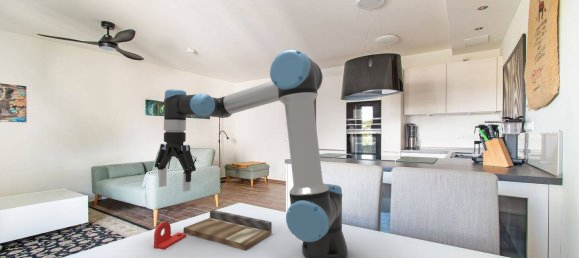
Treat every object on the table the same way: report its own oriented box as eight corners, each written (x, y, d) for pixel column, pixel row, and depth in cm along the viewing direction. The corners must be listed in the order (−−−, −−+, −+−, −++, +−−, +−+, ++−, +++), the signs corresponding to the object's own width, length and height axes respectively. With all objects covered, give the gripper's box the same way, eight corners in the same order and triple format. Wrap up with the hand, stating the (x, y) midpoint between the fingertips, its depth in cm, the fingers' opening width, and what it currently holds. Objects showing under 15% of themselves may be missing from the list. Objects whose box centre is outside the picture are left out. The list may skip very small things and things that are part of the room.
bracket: (164, 250, 90) (164, 227, 90) (153, 248, 91) (154, 225, 91) (187, 236, 101) (187, 216, 101) (178, 235, 102) (178, 215, 102)
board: (271, 234, 103) (271, 221, 103) (245, 250, 89) (246, 236, 89) (213, 220, 119) (213, 209, 119) (183, 232, 105) (183, 220, 105)
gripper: (206, 132, 94) (205, 190, 94) (163, 131, 106) (162, 183, 106) (189, 132, 87) (188, 195, 87) (145, 131, 99) (144, 186, 99)
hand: (174, 188), depth 97 cm, fingers open, 13 cm apart
